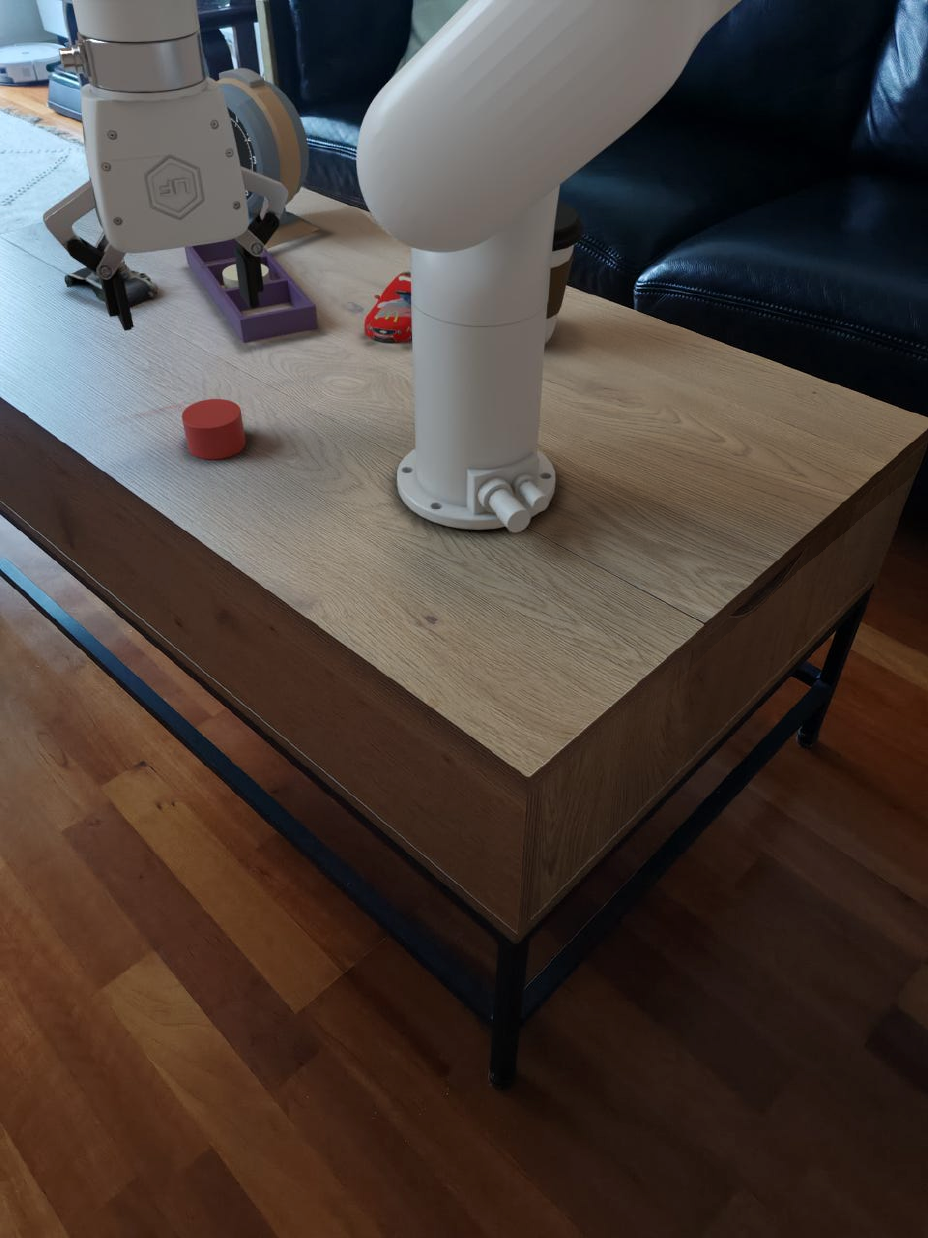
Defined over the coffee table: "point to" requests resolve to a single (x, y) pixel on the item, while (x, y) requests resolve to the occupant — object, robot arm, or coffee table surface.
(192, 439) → the cylinder
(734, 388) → the coffee table surface
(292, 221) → the alarm clock
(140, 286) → the camera
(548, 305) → the coffee cup
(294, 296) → the board
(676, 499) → the coffee table surface
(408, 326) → the race car
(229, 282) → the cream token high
